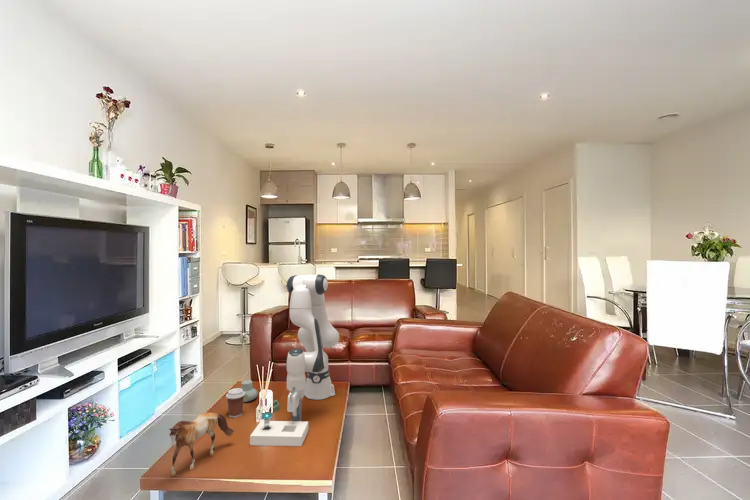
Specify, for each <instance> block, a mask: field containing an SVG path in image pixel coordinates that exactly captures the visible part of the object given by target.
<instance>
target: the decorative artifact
mask: <svg viewBox="0 0 750 500" xmlns="http://www.w3.org/2000/svg"><path fill="white" fill-rule="evenodd" d="M272 398H273V412H274V413H277V412H278V411H279V410H280V403H279V402H278V400H277V399H274V397H272Z"/></svg>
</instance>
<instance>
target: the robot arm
mask: <svg viewBox="0 0 750 500" xmlns="http://www.w3.org/2000/svg"><path fill="white" fill-rule="evenodd" d="M328 287H329V281H328V279H327V276H326V275H324V274H319V273H318V274H315V273H314V274H311V273H308V274H301V275H297V274H294V275H292V276H289V278H288V279H287V281H286V290H287V292H288V293H289V294H290V299H289V300H290V301H289V310H288V311H289V319H290V322H291V323H292V324H293V325H295V326H296V327H299V329H298V331H297V339H298V341H299V343H301V344H302V345H303V347H304V349H305V351H304V349H302V348H298V347H297V348H292V349H290V350H289V351H288V352H287V357H286V360H285V367H286V372H287V376H286V390H287V391H289V393H288V395H287V404H286V405H287V406H286V407H287V408H286V410H287V412H288V413H291V412H293V416H297V407H298V405H299V400H300V398H301V397H302V399H304V397H305V398H307V399H310V400H324V399H328V398H330V397H334V396H336V391H335V386H334V384H333V383H332V380H331V377H330V369H329V356H328V354H327V353H326V352H325V351H324V348H332V347H335V346H337V344H338V343H339V341H340V333H339V331H338V330H337V329H336V328H335V327H334V326H333V325H332V324H331V322H330V320H329V318H328V315H327V307H326V300H325V299H326V298H325V293H326V292H327V291H328ZM306 373H307V377H306Z"/></svg>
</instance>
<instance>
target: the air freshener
mask: <svg viewBox="0 0 750 500" xmlns="http://www.w3.org/2000/svg"><path fill="white" fill-rule="evenodd" d="M240 383H241V384H240V388H241V389H243V391H244V392H245V396H244V399H243V403H247V402H251V401H253V400H255V399H256V398H257V397H258V390H257V389H255V388H254V387H253V384H254V383H253V381H252V380H251V379H247V380H242V381H241V382H240Z"/></svg>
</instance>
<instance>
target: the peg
mask: <svg viewBox="0 0 750 500" xmlns="http://www.w3.org/2000/svg"><path fill="white" fill-rule="evenodd" d="M302 400H303V398H302V397H301V398H300V400H299V405H298V407H297V416H293V412H290V421H303V420H302V419H303V418H302V410H303V405H302V403H303V402H302Z"/></svg>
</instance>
